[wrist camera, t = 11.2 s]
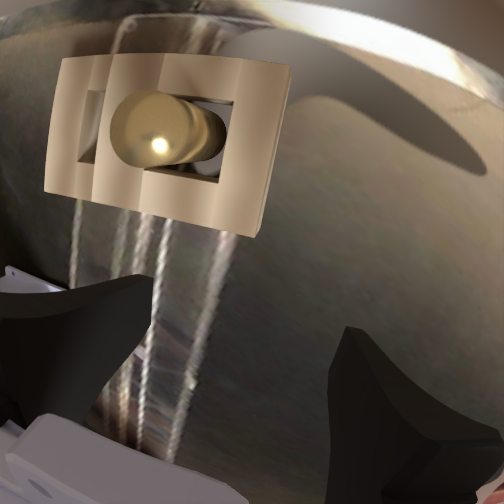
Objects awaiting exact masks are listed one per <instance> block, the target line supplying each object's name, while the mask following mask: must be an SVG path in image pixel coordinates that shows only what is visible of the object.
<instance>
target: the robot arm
mask: <svg viewBox="0 0 504 504" xmlns="http://www.w3.org/2000/svg"><path fill="white" fill-rule="evenodd" d="M5 272H6V275H5V276H3V277H2V278H0V504H249V503H248V501H247V500H246V499H245V498H244V497H243V496H242V495H240V494H239V493H238V492H236V491H235V490H234V489H232V488H231V487H230V486H228V485H227V484H226V483H223V482H221V481H218V480H216V479H213V478H211V477H208V476H206V475H203V474H201V473H199V472H196V471H192V470H189V469H186V468H183V467H180V466H177V465H174V464H171V463H168V462H165V461H162V460H159V459H157V458H154V457H151V456H149V455H146V454H143V453H141V452H138V451H136V450H133V449H131V448H129V447H126V446H124V445H121V444H119V443H117V442H115V441H112V440H110V439H108V438H106V437H104V436H102V435H99V434H97V433H95V432H93V431H91V430H89V429H87V428H85V427H83V426H81V425H82V423H83V421H84V419H85V418H86V416H87V414H88V412H89V410H90V409H91V407H92V405H93V403H94V402H95V400H96V399H97V397H98V395H99V394H100V392H101V391H102V389H103V387H104V386H105V385H106V383H107V382H108V381H109V379H110V378H111V377H112V376H113V374H114V373H115V372H116V371H117V370H118V368H119V367H120V366H121V365H122V364H123V363H124V361H125V360H126V359H127V358H128V357H129V355H130V354H131V353H132V352H133V350H134V349H135V348H136V347H137V346H138V344H139V343H140V341H141V340H142V338H143V337H144V335H145V333H146V332H147V330H148V328H149V326H150V325H151V310H152V293H153V279H154V278H151V277H148V276H144V275H141V274H135V275H130V276H125V277H121V278H117V279H113V280H109V281H106V282H102V283H98V284H94V285H89V286H85V287H80V288H75V289H70V290H66V289H63V288H61V287H58V286H56V285H54V284H51V283H49V282H46V281H44V280H41V279H39V278H37V277H34V276H32V275H30V274H27V273H25V272H23V271H21V270H18V269H16V268H14V267H12V266H9V265H8V266H6V268H5ZM327 395H328V410H329V424H330V439H331V453H330V465H329V475H328V484H327V492H326V498H325V504H476V503H477V501H478V499H477V496H476V491H477V490H478V489H479V488H480V487H481V486H482V485H483V484H485V483H486V482H487V481H488V480H489V479H490V478H491V477H492V476H493V475H494V474H495V472H496V471H497V470H498V469H499V468H500V467H501V465H502V463H503V461H504V441H503V439H502V437H501V435H500V433H499V431H498V430H497V429H495V428H492V427H490V426H487V425H484V424H482V423H479V422H477V421H474V420H472V419H470V418H468V417H466V416H464V415H462V414H460V413H458V412H456V411H454V410H453V409H451V408H449V407H447V406H446V405H444V404H443V403H441V402H440V401H438V400H436V399H435V398H433V397H432V396H431V395H429V394H428V393H426V392H425V391H424V390H423V389H421V388H420V387H419V386H418V385H416V384H415V383H414V382H413V381H412V380H411V379H409V378H408V377H407V376H406V375H405V374H404V373H403V372H402V371H401V370H400V369H399V368H398V367H397V366H396V365H395V364H394V363H393V362H392V361H391V360H390V359H389V358H388V357H387V356H386V354H385V353H384V352H383V351H382V350H381V349H380V348H379V347H378V345H377V344H376V343H375V342H374V341H373V340H372V339H371V338H370V337H369V336H368V334H367V333H366V332H365V331H363V330H362V329H358V328H353V327H348V326H346V328H345V331H344V333H343V336H342V339H341V341H340V344H339V346H338V349H337V351H336V354H335V356H334V359H333V361H332V364H331V366H330V369H329V375H328V390H327Z"/></svg>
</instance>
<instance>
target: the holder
mask: <svg viewBox="0 0 504 504" xmlns="http://www.w3.org/2000/svg"><path fill="white" fill-rule="evenodd" d="M291 76H292V75H291V70H290V66H289V65H284V64H277V63H272V62H265V61H257V60H251V59H242V58H234V57H224V56H212V55H198V54H177V53H127V54H106V55H92V56H81V57H72V58H64V59H63V60H62V64H61V68H60V73H59V77H58V82H57V87H56V92H55V98H54V104H53V110H52V116H51V123H50V130H49V138H48V147H47V157H46V169H45V185H44V191H45V192H50V193H54V194H59V195H64V196H69V197H73V198H78V199H83V200H87V201H92V202H97V203H101V204H106V205H111V206H115V207H120V208H125V209H129V210H134V211H138V212H143V213H147V214H152V215H156V216H161V217H165V218H170V219H174V220H179V221H183V222H188V223H192V224H196V225H201V226H205V227H210V228H214V229H218V230H223V231H227V232H231V233H236V234H240V235H244V236H249V237H253V238H255V236H256V234H257V233H258V231H259V229H260V227H261V222H262V217H263V212H264V208H265V203H266V198H267V193H268V188H269V183H270V179H271V174H272V169H273V164H274V159H275V154H276V150H277V145H278V140H279V135H280V130H281V125H282V120H283V115H284V111H285V106H286V101H287V95H288V91H289V86H290V81H291ZM143 89H153V90H158V91H161V92H163V93H166V94H169V95H171V96H174V97H177V98H179V99H182V100H192V101H202V102H210V103H218V104H226V105H232V106H233V110H232V114H231V119H230V125H229V130H228V134H227V140H226V145H225V150H224V155H223V161H222V166H221V172H220V177H219V178H214V177H209V176H204V175H198V174H193V173H187V172H182V171H176V170H170V169H164V168H161V166H154V167H147V168H137V167H133V166H130V165H128V164H126V163H124V162H123V161H122V160H121V159H120V158H119V157H118V156H117V155H116V153H115V152H114V150H113V147H112V145H111V141H110V123H111V119H112V116H113V114H114V112H115V110H116V108H117V107H118V105H119V104H120V103H121V102H122V101H123V100H124V99H125V98H126V97H127V96H128V95H130V94H132V93H134V92H136V91H139V90H143Z"/></svg>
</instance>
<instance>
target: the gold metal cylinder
mask: <svg viewBox="0 0 504 504" xmlns="http://www.w3.org/2000/svg"><path fill="white" fill-rule="evenodd" d="M226 134H227V133H226V127H225V124H224V122H223V121H222V119H221V118H220V117H219V116H218V115H217V114H215V113H213V112H211V111H209V110H206V109H204V108H202V107H199V106H197V105H194V104H192V103H189V102H187V101H184V100H182V99H179V98H177V97H174V96H171V95H169V94H166V93H163V92H161V91H158V90H153V89H143V90H139V91H136V92H134V93H132V94H130V95H128V96H127V97H126V98H125V99H124V100H123V101H122V102H121V103H120V104H119V105H118V107H117V108H116V110H115V112H114V114H113V116H112V119H111V123H110V141H111V145H112V147H113V150H114V152H115V153H116V155H117V156H118V157H119V158H120V159H121V160H122V161H123V162H124V163H126V164H128V165H130V166H133V167H137V168H147V167H154V166H162V165H170V164H179V163H188V162H198V161H205V160H209V159H211V158H213V157H215V156H216V155H218V153H220V151H221V150H222V149H223V147H224V145H225V142H226V137H227V135H226Z"/></svg>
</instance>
